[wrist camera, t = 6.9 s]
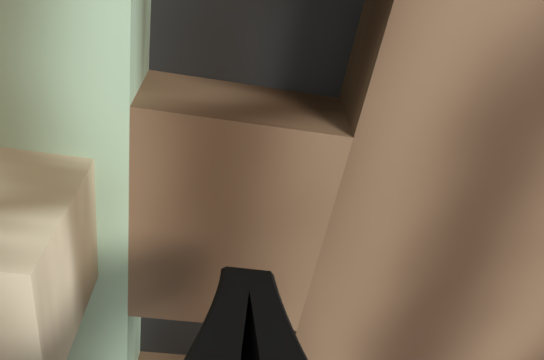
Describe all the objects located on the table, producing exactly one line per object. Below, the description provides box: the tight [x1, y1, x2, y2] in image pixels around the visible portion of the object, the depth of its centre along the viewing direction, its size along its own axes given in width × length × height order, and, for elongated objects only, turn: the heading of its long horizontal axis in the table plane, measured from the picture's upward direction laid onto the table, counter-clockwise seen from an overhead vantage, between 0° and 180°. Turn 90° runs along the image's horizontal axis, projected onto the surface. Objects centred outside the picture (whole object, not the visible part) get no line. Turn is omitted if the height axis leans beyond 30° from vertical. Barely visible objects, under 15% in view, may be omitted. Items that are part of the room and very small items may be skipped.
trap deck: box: [0, 0, 544, 360], centre depth 16 cm, size 22×20×3 cm
